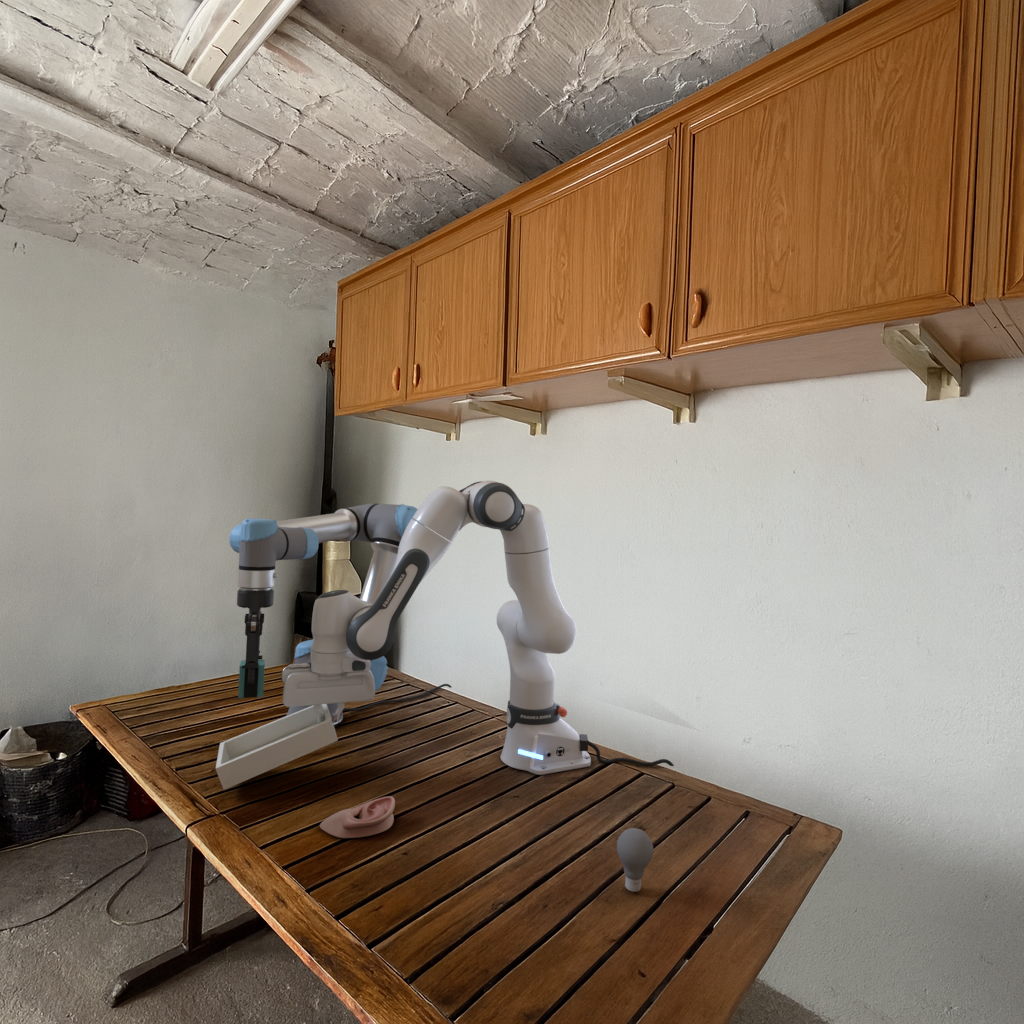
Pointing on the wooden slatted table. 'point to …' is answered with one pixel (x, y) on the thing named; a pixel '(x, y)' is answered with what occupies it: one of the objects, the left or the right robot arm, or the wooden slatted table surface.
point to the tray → (273, 745)
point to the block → (260, 679)
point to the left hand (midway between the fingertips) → (250, 693)
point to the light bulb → (634, 856)
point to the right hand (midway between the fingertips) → (328, 721)
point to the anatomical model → (361, 819)
